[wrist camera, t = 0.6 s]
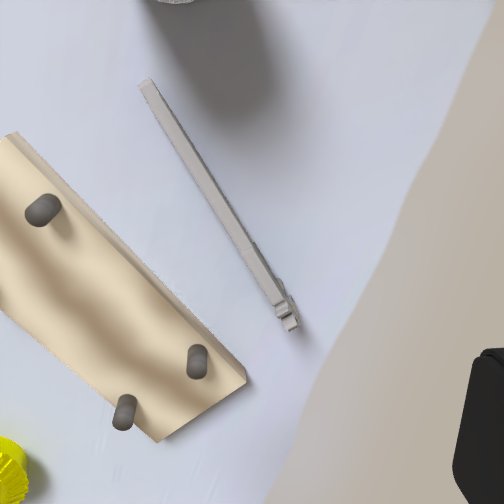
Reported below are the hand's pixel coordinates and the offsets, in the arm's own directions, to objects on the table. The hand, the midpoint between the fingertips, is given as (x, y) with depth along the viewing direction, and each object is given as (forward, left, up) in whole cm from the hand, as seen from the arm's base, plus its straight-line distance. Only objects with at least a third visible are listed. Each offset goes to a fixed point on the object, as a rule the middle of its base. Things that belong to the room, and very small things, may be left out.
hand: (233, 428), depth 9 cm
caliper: (+2, +3, -28) cm, 29 cm away
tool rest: (+15, +3, -28) cm, 32 cm away
